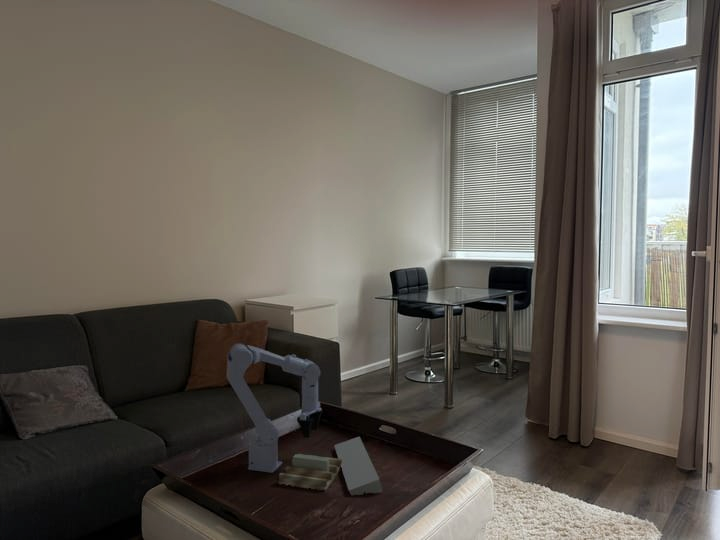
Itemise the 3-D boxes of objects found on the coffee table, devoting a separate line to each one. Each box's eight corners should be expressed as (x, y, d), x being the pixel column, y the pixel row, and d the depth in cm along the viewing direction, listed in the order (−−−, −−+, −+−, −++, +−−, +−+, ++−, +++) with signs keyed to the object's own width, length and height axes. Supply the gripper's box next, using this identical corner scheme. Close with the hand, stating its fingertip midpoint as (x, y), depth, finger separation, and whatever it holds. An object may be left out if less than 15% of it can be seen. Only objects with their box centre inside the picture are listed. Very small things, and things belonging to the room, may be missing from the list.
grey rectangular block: (352, 504, 154) (383, 493, 156) (348, 490, 154) (379, 479, 155) (337, 457, 188) (362, 448, 189) (334, 445, 187) (359, 436, 189)
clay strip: (293, 471, 168) (292, 457, 167) (295, 468, 170) (295, 454, 170) (326, 476, 164) (326, 461, 164) (329, 472, 167) (329, 458, 166)
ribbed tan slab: (278, 484, 161) (278, 474, 161) (299, 461, 178) (299, 453, 177) (325, 491, 157) (325, 481, 157) (342, 467, 173) (342, 458, 173)
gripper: (313, 403, 170) (313, 442, 171) (327, 390, 184) (327, 426, 185) (293, 401, 172) (294, 440, 173) (309, 389, 186) (310, 424, 187)
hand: (310, 433), depth 179 cm, fingers open, 7 cm apart
